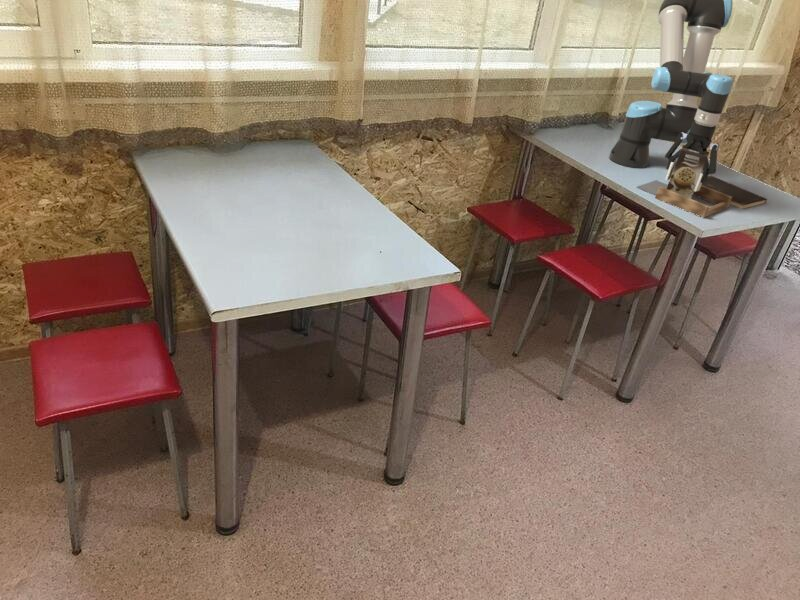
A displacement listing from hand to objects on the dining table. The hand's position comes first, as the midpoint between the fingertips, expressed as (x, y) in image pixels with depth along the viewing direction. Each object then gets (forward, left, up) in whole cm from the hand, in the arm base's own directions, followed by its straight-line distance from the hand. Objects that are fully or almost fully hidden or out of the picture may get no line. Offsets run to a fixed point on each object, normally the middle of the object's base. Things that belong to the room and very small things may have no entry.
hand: (682, 184), depth 230 cm
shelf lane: (+6, 0, -5) cm, 7 cm away
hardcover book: (+8, +22, -5) cm, 24 cm away
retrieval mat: (-8, 0, -5) cm, 9 cm away
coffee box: (0, 0, -4) cm, 4 cm away
